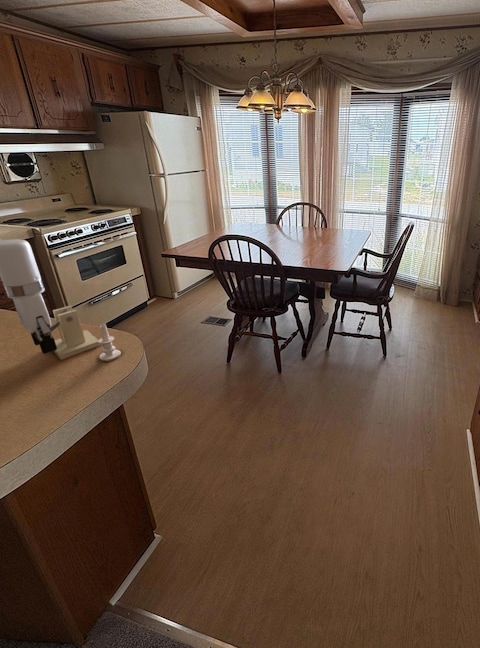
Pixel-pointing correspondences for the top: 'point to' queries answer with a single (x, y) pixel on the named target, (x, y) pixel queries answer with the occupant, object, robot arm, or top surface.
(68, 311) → the switch lever
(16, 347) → the top surface
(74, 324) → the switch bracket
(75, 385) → the top surface
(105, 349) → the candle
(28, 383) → the top surface
